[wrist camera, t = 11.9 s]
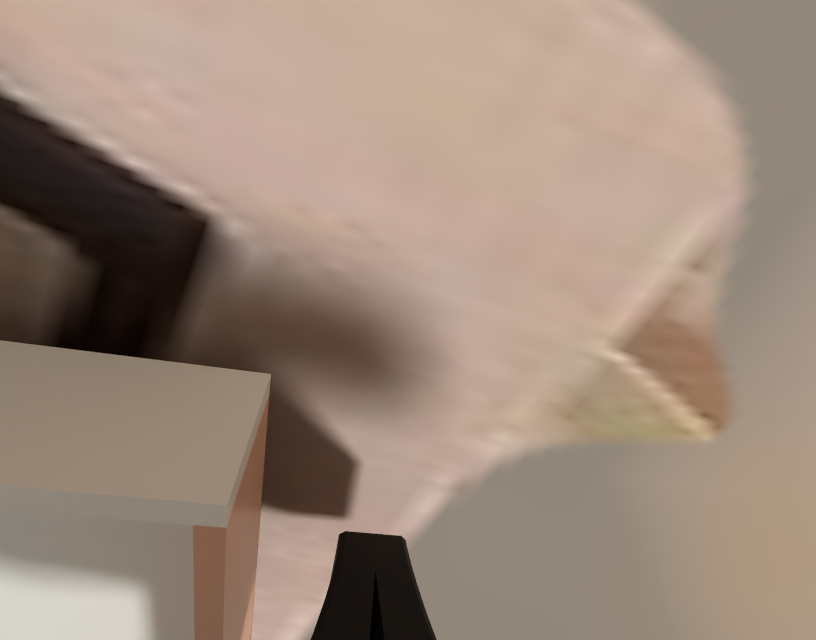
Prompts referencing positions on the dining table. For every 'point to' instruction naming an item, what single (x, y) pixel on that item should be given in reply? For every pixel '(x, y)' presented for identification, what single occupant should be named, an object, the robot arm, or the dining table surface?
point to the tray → (128, 496)
